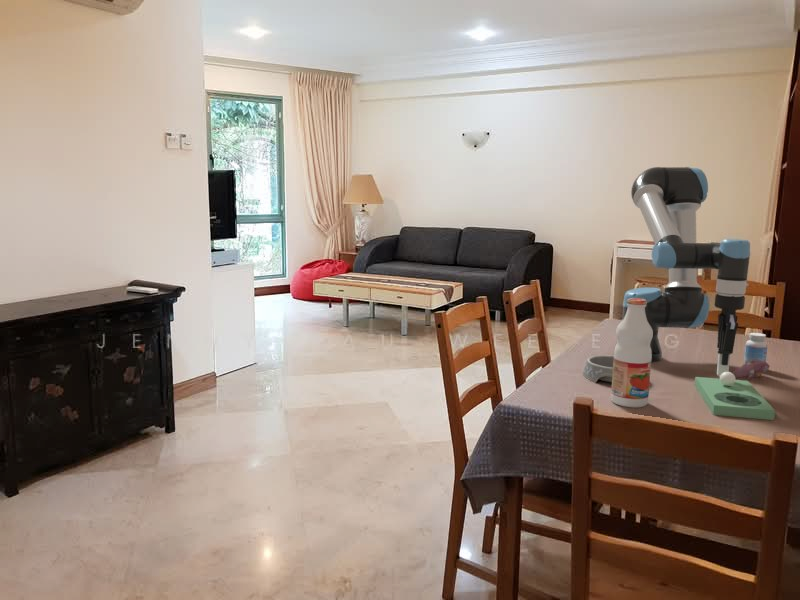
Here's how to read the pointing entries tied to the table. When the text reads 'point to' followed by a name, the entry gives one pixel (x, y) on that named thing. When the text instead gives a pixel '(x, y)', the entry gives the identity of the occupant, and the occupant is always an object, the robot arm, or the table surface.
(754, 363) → the video game controller
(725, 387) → the mat
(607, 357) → the dog bowl
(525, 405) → the table surface
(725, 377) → the ball
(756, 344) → the pill bottle
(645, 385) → the fruit juice
